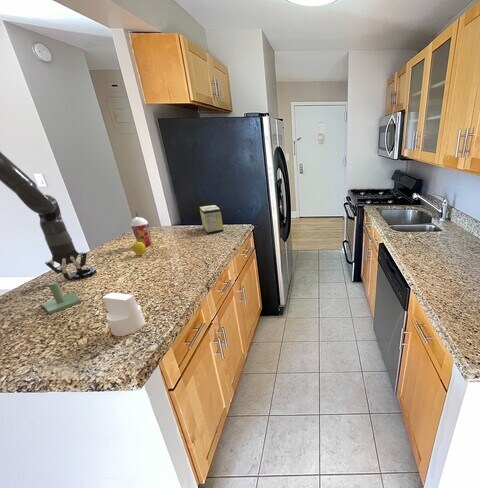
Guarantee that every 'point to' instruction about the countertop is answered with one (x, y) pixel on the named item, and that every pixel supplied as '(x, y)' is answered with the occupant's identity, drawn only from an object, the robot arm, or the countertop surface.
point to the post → (59, 299)
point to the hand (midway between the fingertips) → (74, 277)
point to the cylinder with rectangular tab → (123, 314)
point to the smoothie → (141, 230)
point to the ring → (90, 273)
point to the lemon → (139, 248)
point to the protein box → (211, 219)
